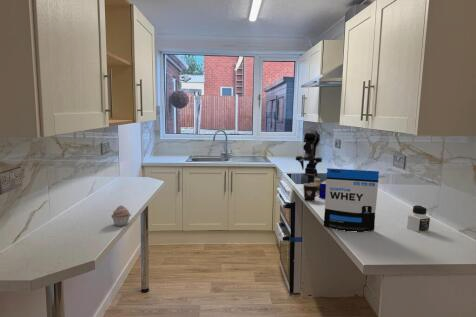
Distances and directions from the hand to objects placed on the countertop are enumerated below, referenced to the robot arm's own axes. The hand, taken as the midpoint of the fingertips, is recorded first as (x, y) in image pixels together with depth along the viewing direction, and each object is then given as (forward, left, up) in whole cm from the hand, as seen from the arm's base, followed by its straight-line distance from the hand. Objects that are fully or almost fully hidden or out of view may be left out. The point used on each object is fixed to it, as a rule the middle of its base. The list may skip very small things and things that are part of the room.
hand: (308, 170), depth 258 cm
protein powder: (+79, +36, -13) cm, 88 cm away
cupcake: (+123, -68, -13) cm, 142 cm away
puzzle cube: (+22, +19, -13) cm, 32 cm away
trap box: (+3, +11, -13) cm, 17 cm away
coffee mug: (+35, +10, -13) cm, 39 cm away
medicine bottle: (+65, +69, -13) cm, 96 cm away
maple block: (0, +7, -10) cm, 12 cm away
